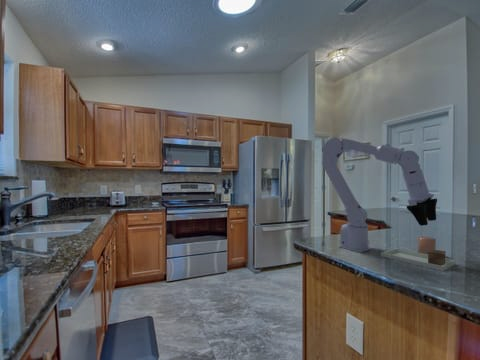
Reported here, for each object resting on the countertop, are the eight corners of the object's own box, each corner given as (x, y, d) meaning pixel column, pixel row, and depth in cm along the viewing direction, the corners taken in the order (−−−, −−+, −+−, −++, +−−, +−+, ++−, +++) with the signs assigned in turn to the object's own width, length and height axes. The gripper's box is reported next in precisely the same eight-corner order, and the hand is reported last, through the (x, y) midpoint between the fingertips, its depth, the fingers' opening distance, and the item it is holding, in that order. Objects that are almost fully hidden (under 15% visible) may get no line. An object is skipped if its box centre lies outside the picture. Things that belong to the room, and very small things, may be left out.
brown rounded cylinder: (415, 254, 91) (415, 237, 91) (421, 252, 94) (421, 236, 94) (432, 258, 87) (432, 240, 87) (438, 255, 90) (438, 238, 90)
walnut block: (428, 264, 78) (428, 251, 78) (429, 261, 81) (429, 249, 81) (444, 267, 76) (445, 254, 76) (445, 264, 79) (445, 251, 79)
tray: (380, 258, 87) (380, 252, 87) (395, 253, 93) (395, 248, 93) (443, 273, 73) (443, 266, 73) (455, 266, 79) (455, 260, 79)
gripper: (420, 184, 83) (433, 226, 81) (436, 179, 91) (449, 217, 89) (397, 188, 88) (409, 228, 87) (415, 183, 97) (426, 219, 95)
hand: (428, 222), depth 88 cm, fingers open, 7 cm apart
